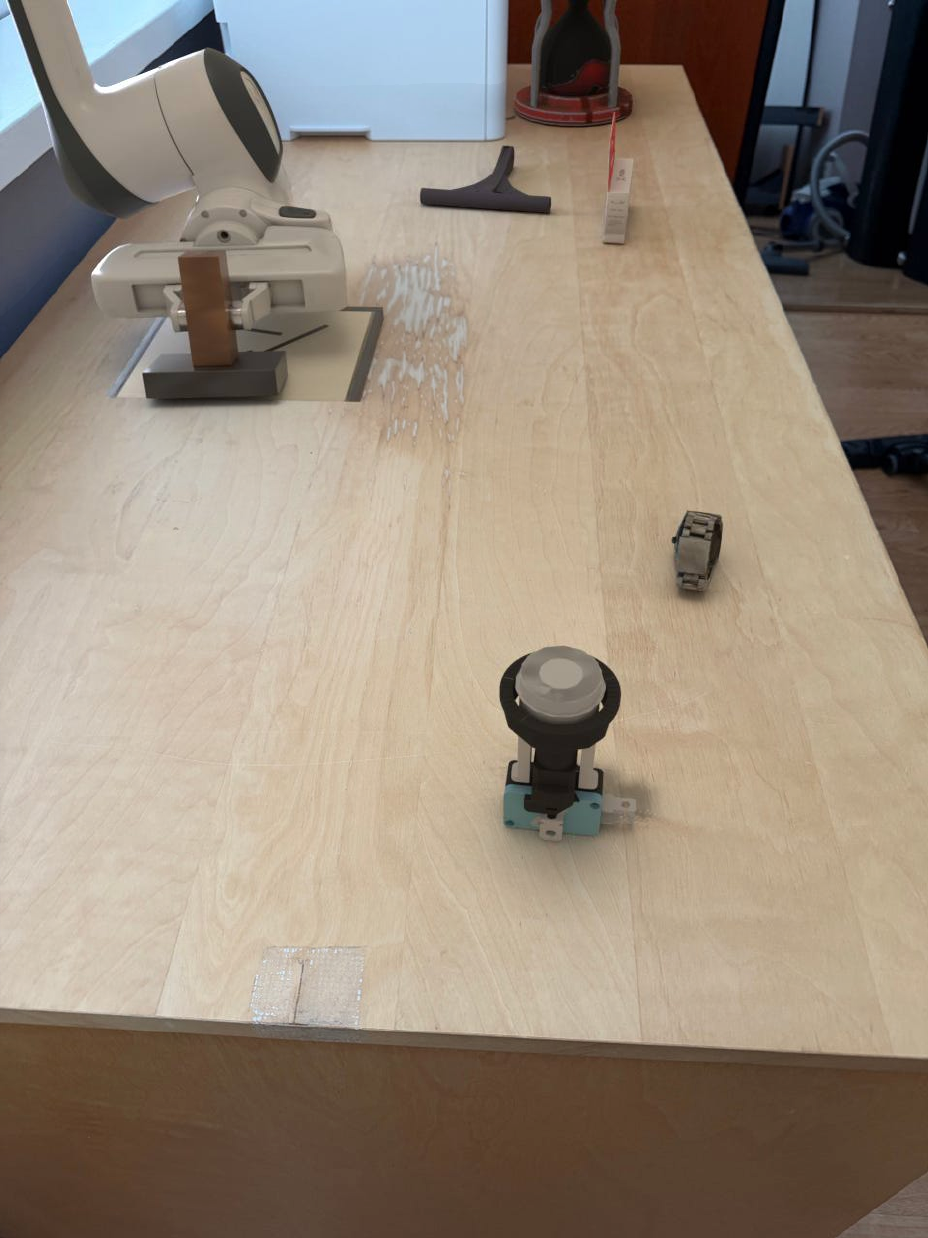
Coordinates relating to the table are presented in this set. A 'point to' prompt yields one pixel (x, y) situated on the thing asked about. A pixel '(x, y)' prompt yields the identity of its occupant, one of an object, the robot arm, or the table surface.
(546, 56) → the hourglass
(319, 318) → the whiteboard
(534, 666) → the push button
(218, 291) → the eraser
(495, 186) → the squeegee
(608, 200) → the ink cartridge box
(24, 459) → the table surface
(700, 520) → the wristwatch
